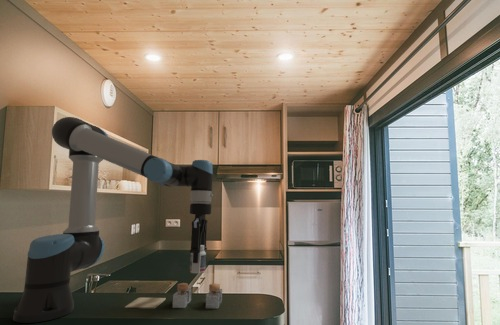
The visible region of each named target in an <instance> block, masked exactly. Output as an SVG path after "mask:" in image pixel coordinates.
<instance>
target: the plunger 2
mask: <svg viewBox="0 0 500 325" xmlns="http://www.w3.org/2000/svg"><path fill="white" fill-rule="evenodd" d="M220 287H221V285H220V283H210V284H208V292H209V291H213V293H216V291H219V290H220V289H221V288H220Z"/></svg>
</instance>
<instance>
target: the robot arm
mask: <svg viewBox="0 0 500 325" xmlns="http://www.w3.org/2000/svg"><path fill="white" fill-rule="evenodd" d="M51 137H52V139H53V141H54V142H55V143H56V144H57V145H58V146H59V147H62V148H64V149H65V150H69V151H68V159H69V160H70V161H71V162H72V173H71V186H70V188H71V189H70V198H69V199H70V201H69V213H68V214H69V215H68V226H67V228H66V229H65V230H63V231H62V233H59V234H52V235H51V234H50V235H45V236H40V237H36V238H34V239H33V240H32V241H31V242H30V245H29V249H28V251H27V262H26V270H25V276H24V277H25V278H24V289H23V291H22V293H21V296H20V298H19V300H18V302H17V304H16V307H15V308H14V311H13V317H12V320H13V322H15V323H20V324H33V323H41V322H42V323H43V322H47V321H52V320H55V319H58V318H59V319H60V318H62V317H64V316H66V315H68V314H71V313H72V312H73V311H74V308H75V305H74V304H75V301H74V298H73V295H72V294H73V292H72V290H71V285H70V283H71V274H72V272H75V271H79V270H84V269H88V268H90V267H91V266H94V265H96V264H97V263H98V262H99V261H100V260H101V259H102V258H103V255H104V252H105V249H106V248H105V247H106V246H105V242H104V239H102V237H101V236H100V229H99V228H98V227H97V226H96V214H97V213H96V212H97V201H98V200H97V198H98V181H99V165H100V163H101V162H103V160H104V161H106V162H108V163H111V164H113V165H117V166H119V167H121V168H123V169H124V170H125V169H126V170H127V171H130V172H133V173H134V174H137V175H139V176H141V177H144V178H146V179H148V180H149V181H151V182H153V183H156V184H159V185H160V186H162V187H169V188H171V187H190V202H191V203H190V205H189V214H190V215H195V216H194V219H193V221H191V237H190V238H191V241H190V250H189V253H190V254H191V253H192V270H191V272H190V273H191V274H201V273H200V258H201V253H200V246H201V245H204V252H205V253H206V251H207V250H208V247H207V235H208V234H207V230H208V228H207V227H208V220H207V219H206V215H211V214H212V204H211V203H212V197H214V194H213V191H212V190H213V179H214V178H213V176H214V173H213V168H214V166H213V163H212V161H210V160H205V159H194V160H193V161H192V164H191V165H188V166H187V165H177V164H174V163H172V162H170V161H169V160H166V159H164V158H161V157H158V156H155V155H153V154H151V153H148V152H146V151H144V150H141V149H139V148H136V147H134V146H132V145H129V144H126V143H124V142H122V141H120V140H117V139H114V138H112V137H110V136H109V135H108V134H107V132H106V131H104V130H103V129H102V128H100V127H98V126H97V125H94V124H90V123H88V122H86V121H85V120H83V119H81V118H78V117H74V116H67V117H66V116H65V117H62V118H60V119H58V120H57V121H56V122H54V124H53V126H52V128H51Z"/></svg>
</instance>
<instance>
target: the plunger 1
mask: <svg viewBox="0 0 500 325" xmlns="http://www.w3.org/2000/svg"><path fill="white" fill-rule="evenodd" d="M176 286H177V287H176V288H177V289H176V290H177V291H178V290H179V291H181V292H184V291H185V290H188V288H189V283H188V282H187V283H186V282H182V283H178V284H177V285H176Z"/></svg>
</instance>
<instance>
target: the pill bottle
mask: <svg viewBox="0 0 500 325" xmlns="http://www.w3.org/2000/svg"><path fill="white" fill-rule="evenodd" d="M200 253H201V258H200V273H199V274H203V273H206V269H207V268H206V266H207V265H206V264H207V262H206V260H207V259H206V258H207V252H206V251H205V252H204V245H201V246H200ZM191 270H192V253H190V263H189V272H190V273H191Z"/></svg>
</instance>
